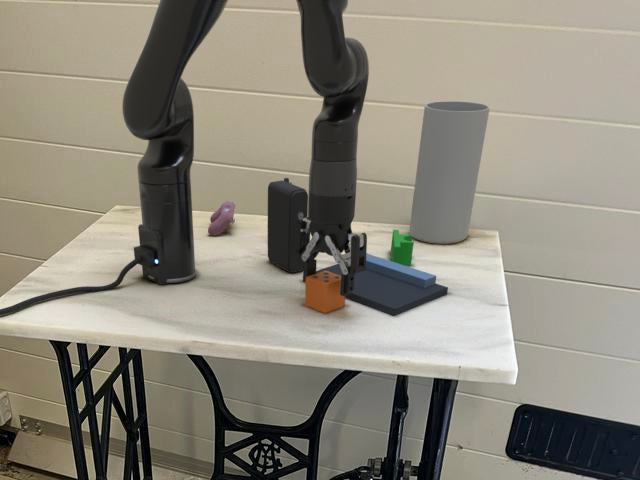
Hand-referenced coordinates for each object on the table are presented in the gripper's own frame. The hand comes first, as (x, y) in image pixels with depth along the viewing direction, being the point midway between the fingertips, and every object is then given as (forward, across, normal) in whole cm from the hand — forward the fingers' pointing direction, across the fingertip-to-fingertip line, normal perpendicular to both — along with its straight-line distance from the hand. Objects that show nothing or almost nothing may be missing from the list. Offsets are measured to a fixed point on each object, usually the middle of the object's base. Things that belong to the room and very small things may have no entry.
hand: (327, 288), depth 125 cm
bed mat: (+3, 0, +13) cm, 13 cm away
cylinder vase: (+3, -11, +47) cm, 48 cm away
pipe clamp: (+3, -6, +28) cm, 29 cm away
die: (+3, 0, 0) cm, 3 cm away
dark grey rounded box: (+3, -19, +9) cm, 22 cm away
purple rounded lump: (+3, -46, +15) cm, 49 cm away
